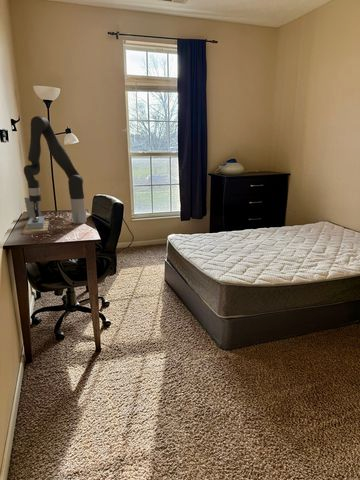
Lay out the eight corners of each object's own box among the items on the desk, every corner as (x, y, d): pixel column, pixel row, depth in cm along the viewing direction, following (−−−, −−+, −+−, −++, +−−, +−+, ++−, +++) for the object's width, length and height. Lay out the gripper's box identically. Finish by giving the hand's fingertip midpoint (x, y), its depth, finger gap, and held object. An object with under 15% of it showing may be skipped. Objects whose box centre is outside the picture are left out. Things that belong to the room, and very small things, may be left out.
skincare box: (42, 216, 247) (39, 196, 243) (34, 218, 241) (32, 197, 236) (34, 215, 251) (31, 195, 246) (26, 217, 244) (23, 196, 240)
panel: (30, 222, 222) (30, 217, 221) (44, 221, 225) (44, 216, 224) (27, 229, 203) (27, 223, 202) (43, 228, 206) (42, 222, 205)
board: (27, 223, 225) (27, 221, 224) (48, 222, 229) (48, 220, 229) (22, 234, 197) (22, 232, 197) (47, 232, 202) (47, 230, 202)
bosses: (34, 224, 217) (33, 217, 215) (39, 224, 218) (39, 216, 216) (32, 228, 206) (31, 220, 205) (38, 228, 207) (37, 220, 206)
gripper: (29, 193, 228) (32, 217, 232) (27, 195, 216) (31, 221, 220) (40, 192, 230) (43, 216, 235) (40, 195, 218) (42, 220, 223)
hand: (37, 218), depth 228 cm, fingers closed
